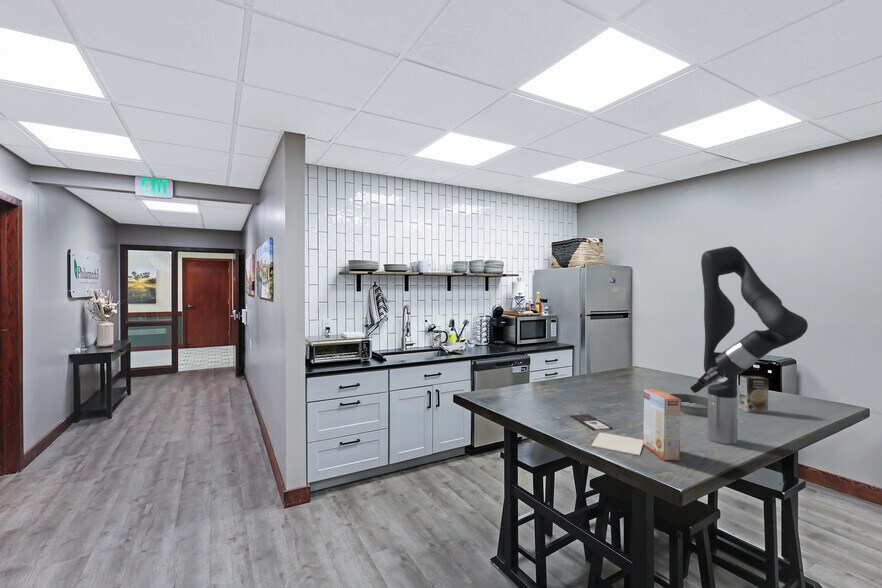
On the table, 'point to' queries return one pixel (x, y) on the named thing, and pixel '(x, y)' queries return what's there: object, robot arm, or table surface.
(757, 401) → the coffee box
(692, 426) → the table surface
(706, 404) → the cake pan
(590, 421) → the chocolate bar
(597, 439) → the mat
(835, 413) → the table surface
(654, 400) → the cracker box
